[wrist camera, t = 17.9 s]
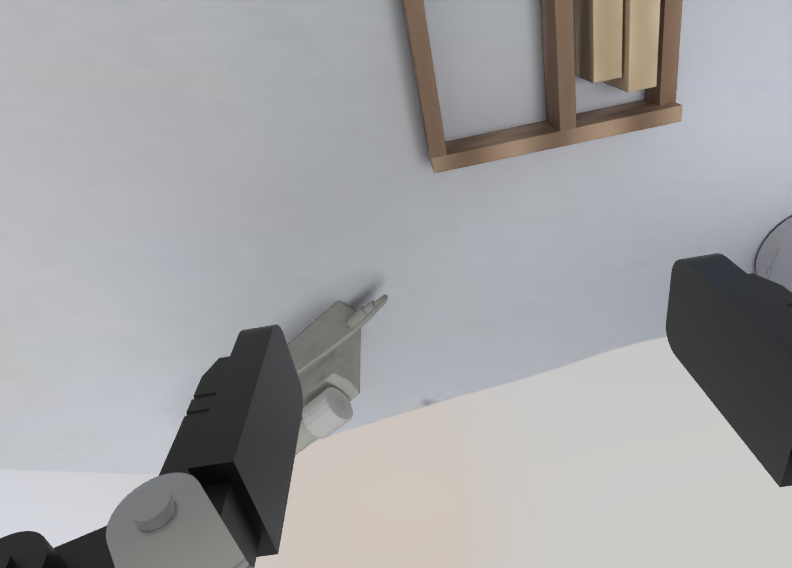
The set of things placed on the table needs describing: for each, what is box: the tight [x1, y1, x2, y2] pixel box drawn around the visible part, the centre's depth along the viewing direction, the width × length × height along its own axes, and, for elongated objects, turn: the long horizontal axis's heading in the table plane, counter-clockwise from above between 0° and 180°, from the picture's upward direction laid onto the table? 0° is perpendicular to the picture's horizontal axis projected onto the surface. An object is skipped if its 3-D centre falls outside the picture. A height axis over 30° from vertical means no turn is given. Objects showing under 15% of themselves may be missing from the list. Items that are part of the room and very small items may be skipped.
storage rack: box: [402, 0, 682, 173], centre depth 37 cm, size 19×19×4 cm
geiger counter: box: [287, 295, 388, 455], centre depth 47 cm, size 14×6×25 cm
